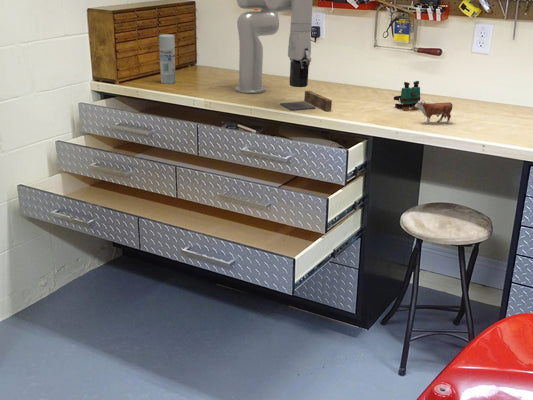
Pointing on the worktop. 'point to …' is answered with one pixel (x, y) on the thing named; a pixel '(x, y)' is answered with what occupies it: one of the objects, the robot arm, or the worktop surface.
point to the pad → (297, 106)
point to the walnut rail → (318, 100)
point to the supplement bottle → (296, 75)
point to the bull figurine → (435, 109)
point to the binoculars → (409, 96)
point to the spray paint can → (167, 58)
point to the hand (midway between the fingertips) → (298, 77)
